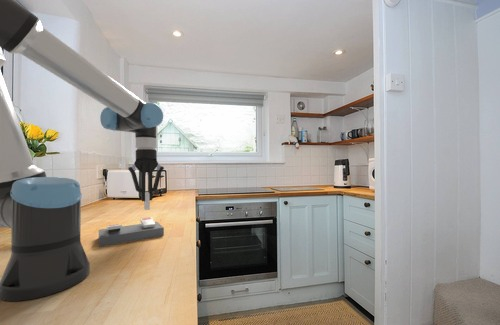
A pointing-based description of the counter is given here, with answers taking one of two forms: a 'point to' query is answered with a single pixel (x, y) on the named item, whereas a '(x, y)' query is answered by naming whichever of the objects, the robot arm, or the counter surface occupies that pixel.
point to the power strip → (129, 234)
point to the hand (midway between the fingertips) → (146, 209)
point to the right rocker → (147, 222)
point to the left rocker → (114, 226)
